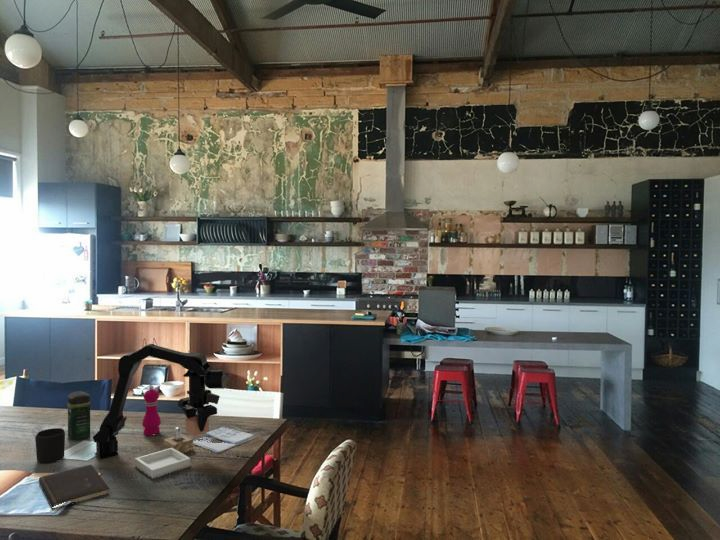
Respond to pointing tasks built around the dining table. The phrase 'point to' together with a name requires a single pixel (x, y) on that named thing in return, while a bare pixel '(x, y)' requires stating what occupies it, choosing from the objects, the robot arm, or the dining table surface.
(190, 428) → the rust block
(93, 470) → the hardcover book
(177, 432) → the cylinder
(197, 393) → the robot arm
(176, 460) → the tray
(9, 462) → the dining table surface
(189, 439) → the oak block
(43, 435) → the pen holder
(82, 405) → the coffee jar
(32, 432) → the dining table surface
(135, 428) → the dining table surface
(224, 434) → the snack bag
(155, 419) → the pepper mill
